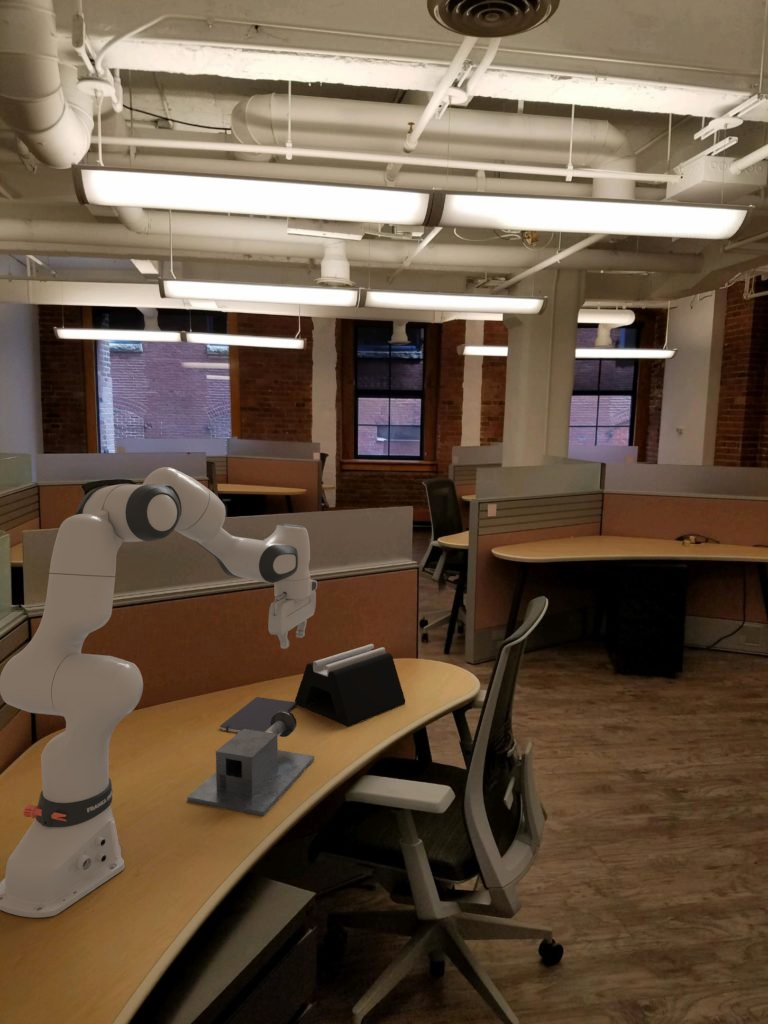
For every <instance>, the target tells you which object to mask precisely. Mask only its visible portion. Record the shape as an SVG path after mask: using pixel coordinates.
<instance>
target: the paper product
mask: <svg viewBox="0 0 768 1024" xmlns="http://www.w3.org/2000/svg"><path fill="white" fill-rule="evenodd" d="M297 706H298V705H297V702H295V701H289V700H282V699H274V698H265V697H260V696H258V697H255V698H253V699H252V700H251V701H249V702H248V703H247V704H246V705H244V706H243V707H241V709H239V710H237V712H235V713H234V714H233V715H232V716H231V717H229V718H228V719H227V720H225V721H224V722H223V723H221V724H220V726H219V727H220V730H221V729H222V730H221V731H224V730H226V732H233V733H237V732H238V733H239V732H240V731H241V730H243V729H249V730H255V731H261V732H265V731H266V730H267V729H268V728H270V727H271V719H272V717H273V716H274V715H275V714H276V713H277V712H279V711H281V710H287V711H289V712H291V713H292V711H293V710H294V709H295V708H296V707H297ZM238 733H237V734H238Z"/></svg>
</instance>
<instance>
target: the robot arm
mask: <svg viewBox="0 0 768 1024" xmlns="http://www.w3.org/2000/svg"><path fill="white" fill-rule="evenodd" d="M226 512H227V511H226V506H225V503H224V502H223V501H222V500H221V499H220V498H219V496H217V495H216V494H215V493H214V492H213V491H212V490H210V488H208V487H206V486H205V485H204V484H202V483H201V482H200V481H198V480H196V479H195V478H193V477H191V476H190V475H188V474H185V473H184V472H182V471H180V470H178V469H176V468H173V467H168V466H164V467H159V468H157V469H154V470H153V471H152V472H150V473H149V474H148V475H147V477H146V478H145V479H144V481H143V483H142V484H131V483H119V484H114V485H103V486H98V487H96V488H93V489H92V490H90V491H89V492H87V493H86V494H85V495H84V496H83V497H82V499H81V500H80V502H79V503H78V508H77V511H76V512H75V514H74V515H71V516H68V517H67V518H66V519H64V520H63V521H62V522H61V524H60V525H59V528H58V532H57V535H56V539H55V541H54V545H53V549H52V554H51V559H50V563H49V564H50V566H49V574H48V581H47V588H46V589H47V591H46V597H45V603H44V609H43V614H42V617H41V620H40V623H39V626H38V628H37V630H36V632H35V633H34V635H33V636H32V638H31V640H30V641H29V642H28V643H27V645H26V646H25V647H24V648H23V649H22V650H21V651H19V652H18V653H17V654H15V655H13V656H12V657H11V658H10V659H9V660H8V661H6V662H7V663H6V664H5V665H4V667H3V668H2V671H1V673H0V696H1V699H2V700H3V702H4V703H6V704H7V705H9V706H11V707H14V708H16V709H19V710H22V711H23V712H24V711H25V712H26V713H30V714H31V713H32V714H40V715H41V714H42V715H51V716H52V715H53V716H61V717H64V720H65V730H64V731H63V732H61V733H59V734H57V735H55V736H53V737H52V738H51V739H50V740H49V741H48V742H47V744H45V747H44V748H43V749H42V753H41V755H40V765H41V767H40V769H41V785H42V787H41V789H42V790H41V791H40V795H39V798H38V802H37V805H34V804H31V803H29V804H27V805H26V806H24V809H23V812H22V813H23V816H24V817H26V818H31V819H34V821H33V822H32V823H31V825H30V827H29V828H28V829H27V831H26V832H25V833H24V835H23V836H22V838H21V840H20V841H19V842H18V844H17V846H16V847H15V848H14V850H13V851H12V853H11V854H10V856H9V857H8V859H7V862H6V867H5V876H4V878H3V879H2V880H1V881H0V911H3V912H5V913H8V914H11V915H15V916H17V917H18V916H19V917H24V918H36V919H37V918H49V917H54V916H56V915H58V914H60V913H61V912H63V911H65V910H66V909H67V908H68V907H70V906H72V905H73V904H75V903H76V902H78V901H79V900H81V899H82V898H83V897H85V896H86V895H88V894H89V893H91V892H93V891H94V890H95V889H97V888H98V887H99V886H101V885H103V884H104V883H106V882H107V881H109V880H110V879H112V878H113V877H115V876H116V875H117V874H119V873H120V872H122V871H123V870H124V869H125V867H126V865H125V861H124V859H123V856H122V848H121V845H120V842H119V838H118V832H117V831H118V830H117V826H116V820H115V816H114V814H113V811H112V805H111V804H112V802H113V792H114V791H113V787H112V780H111V778H110V776H109V775H110V772H109V771H110V770H109V769H110V768H109V764H110V763H109V759H110V758H109V757H110V755H109V753H110V752H109V751H110V743H111V738H112V736H113V732H114V730H115V729H116V727H117V726H118V724H119V723H120V722H121V721H122V720H123V719H124V718H125V717H127V716H128V715H130V714H131V712H133V711H134V710H135V708H136V707H137V705H138V704H139V702H140V700H141V698H142V694H143V689H144V681H143V680H144V679H143V676H142V672H141V670H140V668H139V667H138V666H137V665H136V664H135V663H134V662H131V661H128V660H126V659H123V658H119V657H116V656H112V655H103V654H93V653H92V654H91V653H82V648H83V645H84V642H85V640H86V638H87V637H88V635H89V634H91V633H93V632H95V631H97V630H98V629H100V628H103V627H104V626H105V625H106V624H107V623H108V622H109V620H110V618H111V617H112V614H113V603H114V593H115V582H116V575H117V574H116V571H117V555H118V552H119V549H120V547H121V546H122V544H123V543H137V542H155V541H159V540H161V539H165V538H166V537H168V536H169V535H171V534H172V533H173V532H174V531H175V532H176V533H177V532H178V533H179V534H180V535H182V536H184V537H186V538H188V539H189V540H192V541H194V542H195V543H196V544H197V545H199V547H202V548H203V549H204V550H205V551H206V552H207V553H210V555H212V557H214V558H215V560H216V561H217V563H218V564H219V566H220V567H221V570H222V571H223V572H224V573H225V574H226V575H227V576H229V577H232V578H239V579H247V580H253V581H258V582H262V583H269V584H271V583H274V584H273V585H274V586H273V589H274V591H273V592H274V594H273V595H274V600H273V602H271V604H270V606H269V609H268V610H269V611H268V625H267V626H268V627H267V630H268V632H269V634H270V635H273V636H277V637H278V640H279V642H280V644H279V645H280V646H279V647H280V649H283V650H286V649H288V648H289V647H290V640H289V639H288V635H289V634H288V633H289V631H291V630H293V629H294V628H296V627H297V629H296V630H295V637H296V638H297V639H303V637H305V635H306V634H305V632H306V631H305V630H306V628H307V623H308V620H307V619H309V618H311V617H312V616H314V615H315V611H316V603H317V593H316V590H317V589H318V581H317V580H314V579H311V573H310V568H309V566H310V560H311V546H310V545H311V543H310V536H309V532H308V529H307V528H306V527H304V526H303V525H300V524H299V525H298V524H292V523H291V524H290V523H279V524H277V525H276V526H275V527H276V528H275V529H274V531H273V532H272V533H271V534H270V535H268V537H266V538H264V539H263V540H262V539H255V538H249V537H245V536H240V535H232V534H231V533H229V532H228V531H227V530H226V529H224V528H223V526H224V524H225V520H226Z"/></svg>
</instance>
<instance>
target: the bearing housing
mask: <svg viewBox="0 0 768 1024" xmlns="http://www.w3.org/2000/svg"><path fill="white" fill-rule="evenodd" d="M313 760H314V761H315V755H311V754H304V753H298V752H293V751H288V750H287V751H286V750H281V749H279V748H278V737H277V734H274V733H268V732H261V731H255V730H249V729H243V730H241V731H240V732H239V733H237V734H235V735H234V736H232V738H230V739H229V740H228V741H226V742H225V743H224V744H223V745H222V746H220V747H219V748H218V749H217V750H215V772H214V773H213V774H211V775H210V777H208V778H207V779H206V780H205V781H203V783H201V784H200V785H199V786H198V787H196V789H195V790H193V792H191V793H190V794H188V796H186V797H187V798H186V800H187V801H186V802H189V803H194V804H198V805H202V806H203V805H204V806H208V807H213V808H219V809H224V810H229V811H235V812H240V813H244V814H250V815H254V814H255V816H259V815H260V816H259V817H264V816H265V815H266V814H267V813H268V812H269V811H270V810H271V809H272V808H273V807H274V805H275V804H276V803H277V802H278V801H279V800H280V799H281V798H282V797H283V796H284V794H286V792H287V791H288V790H289V789H290V788H291V786H292V785H293V784H294V783H295V782H296V781H297V780H298V779H299V777H300V776H301V775H303V773H304V772H305V771H306V770H305V769H306V768H307V769H308V767H309V766H310V765H311V764H312V763H313V762H314V761H313ZM241 761H242V762H241ZM312 761H313V762H312ZM311 762H312V763H311ZM304 770H305V771H304ZM297 778H298V779H297ZM296 779H297V780H296ZM288 788H289V789H288ZM280 797H281V798H280ZM279 798H280V799H279ZM271 807H272V808H271ZM270 808H271V809H270Z"/></svg>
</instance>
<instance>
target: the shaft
mask: <svg viewBox="0 0 768 1024" xmlns="http://www.w3.org/2000/svg"><path fill="white" fill-rule="evenodd" d="M296 728H297V719H296V716H295V715H294V714H293V713H292V711H291V712H289V711H287V710H281V711H279V712H277V713H276V714H275V715H274V716H273V717H272V719H271V727H270V728H268V729H267V730H266V731H265V732H268V733H274V734H277V738H279V737H281V738H286V737H288V736H290V735H291V734H293V732H294V731H295V730H296ZM241 762H242V761H241Z"/></svg>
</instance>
